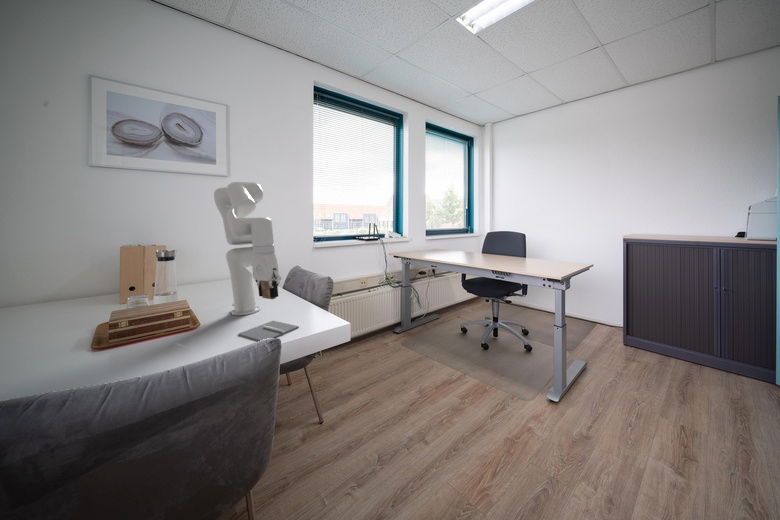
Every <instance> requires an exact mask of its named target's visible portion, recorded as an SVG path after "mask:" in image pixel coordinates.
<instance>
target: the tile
mask: <svg viewBox="0 0 780 520" xmlns="http://www.w3.org/2000/svg"><path fill="white" fill-rule="evenodd" d="M273 282H274V281H272V283H273ZM269 288H271V287H270V284H269V282H268V281H261V289H262V296H261V298H262V299H267V300H275V299H276V298H277V297H275V298H270V289H269Z"/></svg>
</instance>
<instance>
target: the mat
mask: <svg viewBox="0 0 780 520" xmlns="http://www.w3.org/2000/svg"><path fill="white" fill-rule="evenodd" d="M299 328H300V327H299V325H294V324H290V323H285V322H281V321H276V320H272V321H271V320H270V321H269V322H266V323H263V324H261V325H258V326H255V327H252V328H249V329H247V330H244V331H243V332H239V333H238V334H237V335H238V336H241V337H243V338H247V339H250V340H252V341H253V340H254V341H256V342H260V340H263V339H267V338H274V337H276V338H279V337H280V336H283V335H286V334H287V333H288V334H289V333H290V332H292V331H294V330H296V329H299ZM274 339H275V338H274Z"/></svg>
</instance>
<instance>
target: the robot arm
mask: <svg viewBox="0 0 780 520" xmlns="http://www.w3.org/2000/svg"><path fill="white" fill-rule="evenodd" d="M213 199H214V200H213V201H214V204H215V206H216V208H217V210H218V212H219V213H220V215H221V218H222V222H223V228H224V234H225V238H226V242H227V244H228V245H230V246H241V247H234V248H231V249H229V250H228V251H227V252H226V253H225V258H226V263H227V266H228V270H229V274H230V283H231V288H232V298H233V303H232V305H231V306H232V307H233V308H234V309H233V310H231V312H230V313H231V315H232V316H236V317H237V316H248V315H252V314H255V313H257V312H259V311H260V309H261V308H260V306H259V305H257V304H256V302H257V301H256V291H255V283H254V280H255V282H256V285H257V287H258V288H257V289H258V295H259V297H261V298H262V289H261V281H268V282H269V284H270V287H271V288H269V289H270V298H275V297H276V298H278V297H279V289H278V287H279V285H280V282H281V280H282V277H281V276H280V272H279V266H278V265H279V264H278V259H277V256H276V250H275V243H274V241H275V240H274V233H273V232H274V231H273V221H272V219H271V218H269V217H266V216H265V217H264V216H263V217H247V216H249V215H251V214H252V213H254V211H255V210H256V207H257V205H256V204H258V203H261V202H262V201H263V199H264V191H263V188H262V187H261V184H258V183H257V182H254V181H253V182H252V181H234V182H230V183H228V185H226V187H225V186H223V187H219V188H216V189H215V190H214V192H213ZM245 245H246V246H245ZM248 245H251V246H248ZM242 246H245V247H242ZM248 267H249V268H250V267H252V272H251V271H250V270H248V269H247V268H248ZM272 281H274V282H273V283H272ZM276 298H275V299H276Z"/></svg>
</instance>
